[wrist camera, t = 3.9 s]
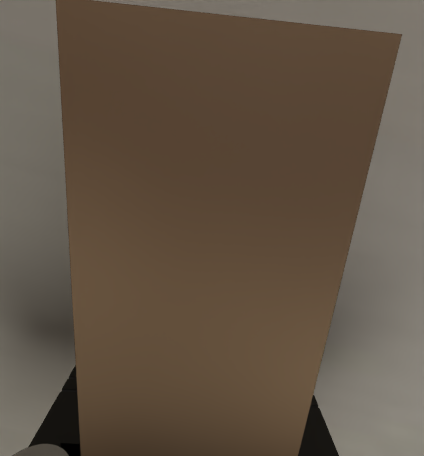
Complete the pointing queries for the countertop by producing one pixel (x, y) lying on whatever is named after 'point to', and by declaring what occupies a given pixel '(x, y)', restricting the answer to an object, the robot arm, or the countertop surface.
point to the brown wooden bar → (209, 218)
